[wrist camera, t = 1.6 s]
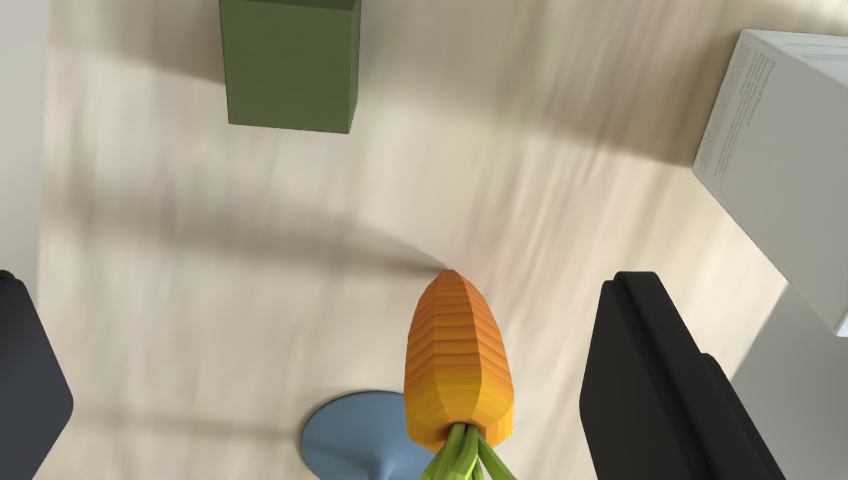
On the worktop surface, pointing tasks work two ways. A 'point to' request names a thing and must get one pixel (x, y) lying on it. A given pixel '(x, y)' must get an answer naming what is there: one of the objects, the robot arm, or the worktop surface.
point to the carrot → (457, 382)
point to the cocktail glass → (363, 440)
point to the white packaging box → (786, 159)
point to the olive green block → (291, 63)
